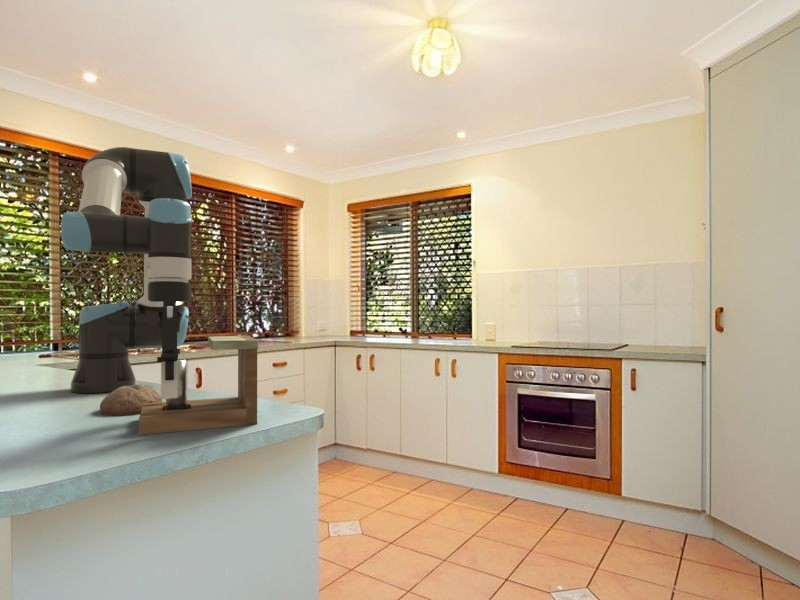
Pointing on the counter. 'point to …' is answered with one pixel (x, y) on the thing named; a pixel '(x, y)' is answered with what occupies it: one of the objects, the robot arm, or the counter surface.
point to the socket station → (212, 410)
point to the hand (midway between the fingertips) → (169, 392)
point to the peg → (179, 389)
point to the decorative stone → (128, 400)
